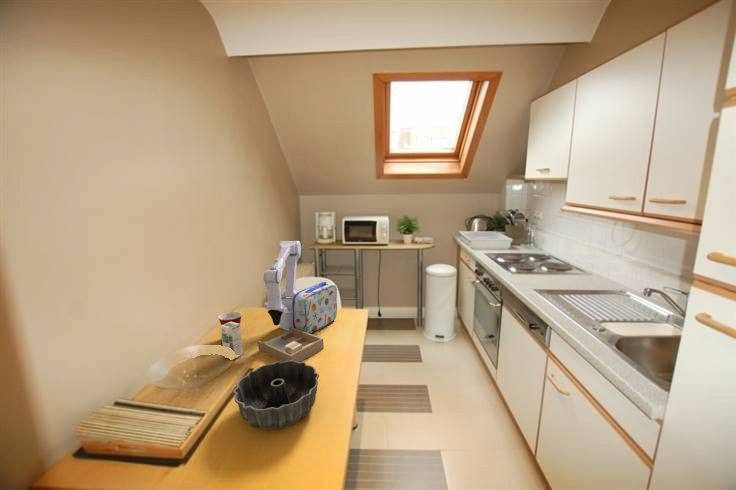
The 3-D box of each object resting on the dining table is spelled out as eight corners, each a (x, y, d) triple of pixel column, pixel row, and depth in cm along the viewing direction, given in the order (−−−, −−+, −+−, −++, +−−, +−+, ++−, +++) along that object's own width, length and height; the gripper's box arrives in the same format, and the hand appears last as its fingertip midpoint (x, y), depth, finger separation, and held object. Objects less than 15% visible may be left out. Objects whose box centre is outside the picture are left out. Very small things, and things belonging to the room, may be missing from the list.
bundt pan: (218, 437, 97) (215, 406, 96) (259, 383, 123) (257, 358, 121) (306, 444, 94) (303, 412, 92) (329, 387, 119) (327, 361, 117)
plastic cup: (248, 333, 164) (245, 310, 162) (239, 343, 154) (236, 319, 152) (226, 333, 165) (223, 310, 162) (216, 343, 154) (213, 319, 152)
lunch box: (325, 314, 185) (323, 276, 180) (341, 318, 179) (339, 278, 175) (291, 334, 161) (287, 291, 157) (307, 339, 156) (304, 294, 152)
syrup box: (223, 358, 141) (219, 326, 139) (234, 351, 147) (231, 320, 144) (232, 361, 139) (229, 328, 136) (243, 354, 144) (240, 322, 141)
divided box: (258, 350, 147) (257, 341, 146) (291, 335, 161) (290, 326, 160) (291, 366, 133) (290, 356, 132) (323, 348, 147) (323, 338, 146)
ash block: (285, 352, 140) (284, 345, 139) (294, 347, 143) (294, 341, 143) (293, 356, 136) (292, 349, 136) (302, 350, 140) (302, 344, 140)
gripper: (256, 295, 149) (259, 323, 152) (277, 301, 141) (279, 331, 143) (270, 291, 155) (272, 318, 157) (290, 297, 146) (292, 326, 149)
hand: (276, 324), depth 151 cm, fingers closed
